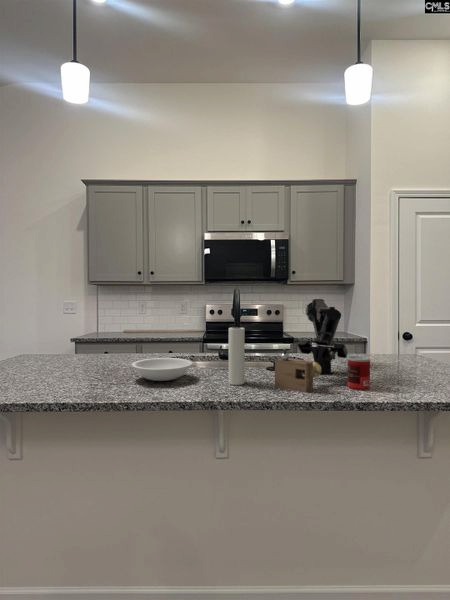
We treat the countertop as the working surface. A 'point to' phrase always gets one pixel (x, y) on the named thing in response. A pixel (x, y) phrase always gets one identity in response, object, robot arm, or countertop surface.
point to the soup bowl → (162, 368)
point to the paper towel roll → (236, 355)
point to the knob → (315, 369)
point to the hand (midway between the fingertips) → (315, 366)
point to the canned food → (358, 373)
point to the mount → (294, 375)
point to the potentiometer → (284, 356)
